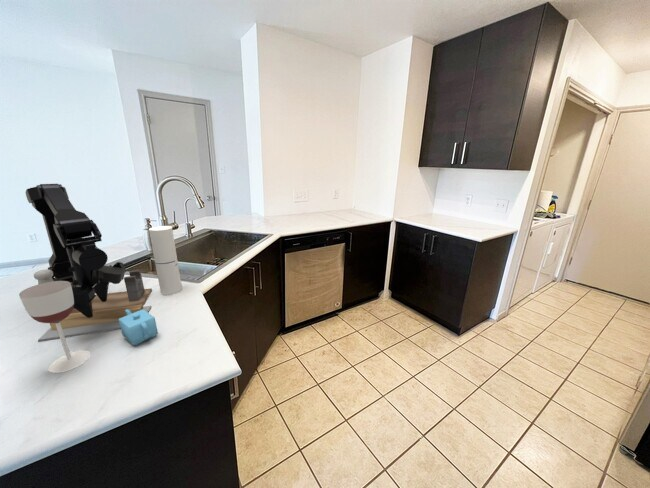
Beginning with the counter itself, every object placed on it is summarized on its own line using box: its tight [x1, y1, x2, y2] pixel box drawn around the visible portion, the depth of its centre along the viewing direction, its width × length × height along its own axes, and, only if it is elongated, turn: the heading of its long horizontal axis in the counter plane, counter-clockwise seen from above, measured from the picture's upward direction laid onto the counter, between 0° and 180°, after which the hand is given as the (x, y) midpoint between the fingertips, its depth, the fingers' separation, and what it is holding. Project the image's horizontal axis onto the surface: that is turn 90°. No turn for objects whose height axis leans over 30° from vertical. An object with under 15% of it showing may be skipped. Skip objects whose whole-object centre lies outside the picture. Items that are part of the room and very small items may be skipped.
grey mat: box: [37, 305, 152, 343], centre depth 78 cm, size 11×24×1 cm, turn 110°
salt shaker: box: [33, 268, 54, 285], centre depth 85 cm, size 6×6×13 cm
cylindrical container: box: [148, 225, 183, 296], centre depth 95 cm, size 7×7×25 cm
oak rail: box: [49, 304, 144, 330], centre depth 78 cm, size 3×22×3 cm, turn 110°
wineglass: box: [18, 281, 91, 374], centre depth 60 cm, size 8×9×20 cm
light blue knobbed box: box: [119, 309, 159, 346], centre depth 72 cm, size 12×6×8 cm, turn 56°
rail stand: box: [70, 269, 153, 314], centre depth 88 cm, size 12×22×10 cm, turn 110°
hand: (97, 309), depth 77 cm, fingers open, 9 cm apart
